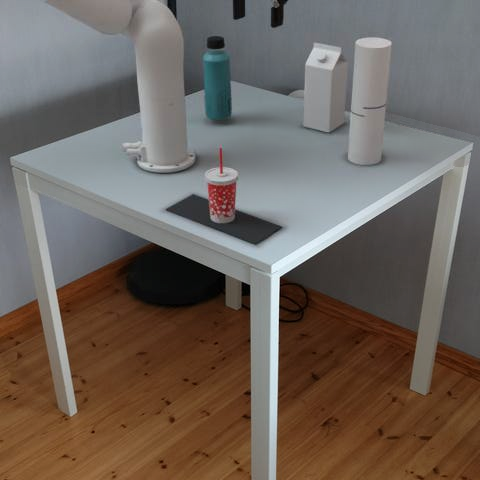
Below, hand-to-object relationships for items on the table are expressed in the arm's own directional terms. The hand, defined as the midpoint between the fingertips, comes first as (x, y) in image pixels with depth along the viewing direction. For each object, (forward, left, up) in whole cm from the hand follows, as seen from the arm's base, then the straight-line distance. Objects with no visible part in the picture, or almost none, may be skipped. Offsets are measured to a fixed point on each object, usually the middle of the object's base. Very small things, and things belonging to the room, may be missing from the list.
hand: (257, 22), depth 160 cm
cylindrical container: (+23, -4, -28) cm, 37 cm away
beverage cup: (-8, -30, -28) cm, 42 cm away
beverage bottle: (-9, +19, -28) cm, 35 cm away
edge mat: (-8, -30, -28) cm, 42 cm away
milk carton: (+16, +15, -28) cm, 36 cm away
